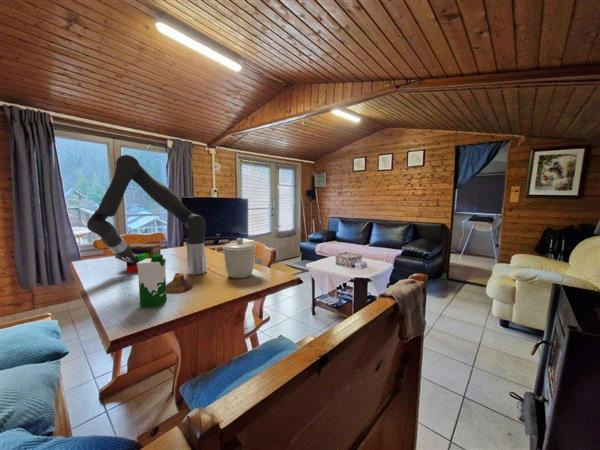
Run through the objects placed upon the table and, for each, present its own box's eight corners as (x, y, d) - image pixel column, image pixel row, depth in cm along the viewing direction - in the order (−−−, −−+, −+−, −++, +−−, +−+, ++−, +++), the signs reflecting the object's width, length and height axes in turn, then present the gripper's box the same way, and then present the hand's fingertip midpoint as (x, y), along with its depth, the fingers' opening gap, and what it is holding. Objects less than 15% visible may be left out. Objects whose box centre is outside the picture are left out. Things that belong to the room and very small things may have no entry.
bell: (186, 293, 117) (186, 277, 117) (159, 293, 117) (158, 277, 116) (196, 284, 129) (195, 270, 128) (171, 284, 129) (171, 270, 128)
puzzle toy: (137, 267, 158) (137, 251, 157) (154, 267, 158) (153, 251, 157) (127, 272, 148) (126, 255, 147) (144, 272, 148) (143, 255, 147)
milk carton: (160, 308, 101) (158, 257, 99) (136, 308, 100) (133, 258, 98) (169, 299, 110) (167, 253, 108) (147, 300, 109) (144, 253, 107)
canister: (245, 282, 133) (245, 241, 130) (215, 278, 138) (215, 239, 136) (262, 273, 150) (262, 236, 147) (234, 269, 155) (234, 235, 153)
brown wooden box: (161, 266, 160) (160, 244, 158) (154, 270, 152) (153, 246, 151) (135, 266, 160) (133, 243, 158) (126, 270, 152) (125, 246, 151)
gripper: (134, 241, 136) (149, 258, 150) (109, 240, 136) (126, 258, 149) (128, 253, 131) (144, 270, 145) (102, 252, 131) (120, 269, 145)
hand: (135, 264), depth 147 cm, fingers closed
